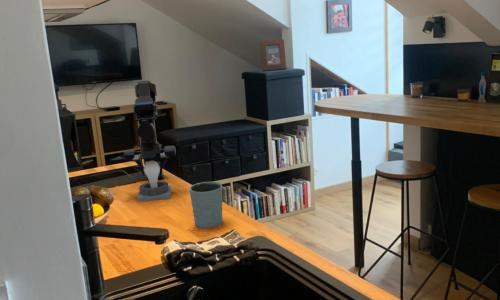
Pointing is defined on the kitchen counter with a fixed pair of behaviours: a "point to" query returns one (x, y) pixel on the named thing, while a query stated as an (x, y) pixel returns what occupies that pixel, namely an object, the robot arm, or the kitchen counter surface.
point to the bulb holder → (154, 191)
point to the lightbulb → (152, 172)
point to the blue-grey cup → (207, 204)
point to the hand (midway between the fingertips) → (152, 175)
